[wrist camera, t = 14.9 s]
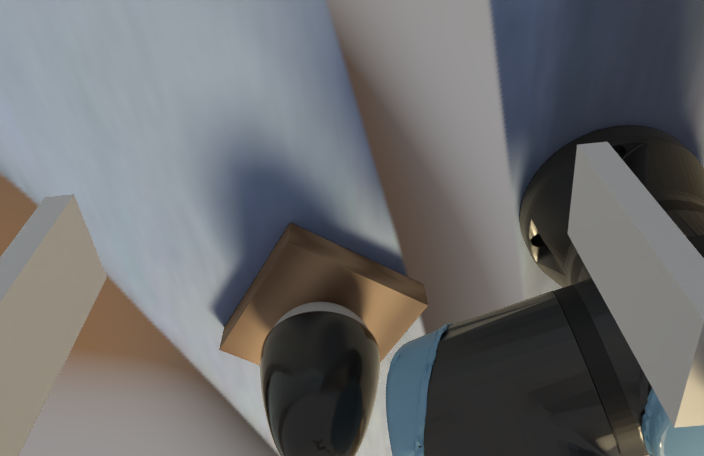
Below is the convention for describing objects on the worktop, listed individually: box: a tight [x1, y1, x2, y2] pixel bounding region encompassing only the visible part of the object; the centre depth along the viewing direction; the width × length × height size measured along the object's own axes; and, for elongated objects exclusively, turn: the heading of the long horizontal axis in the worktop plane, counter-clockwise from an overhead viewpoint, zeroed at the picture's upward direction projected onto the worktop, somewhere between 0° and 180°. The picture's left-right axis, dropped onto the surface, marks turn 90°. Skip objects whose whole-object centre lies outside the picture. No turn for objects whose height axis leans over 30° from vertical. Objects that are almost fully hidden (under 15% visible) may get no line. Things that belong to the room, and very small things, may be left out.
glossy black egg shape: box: [260, 302, 380, 456], centre depth 51 cm, size 10×10×15 cm
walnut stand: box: [219, 223, 428, 365], centre depth 59 cm, size 14×14×3 cm
